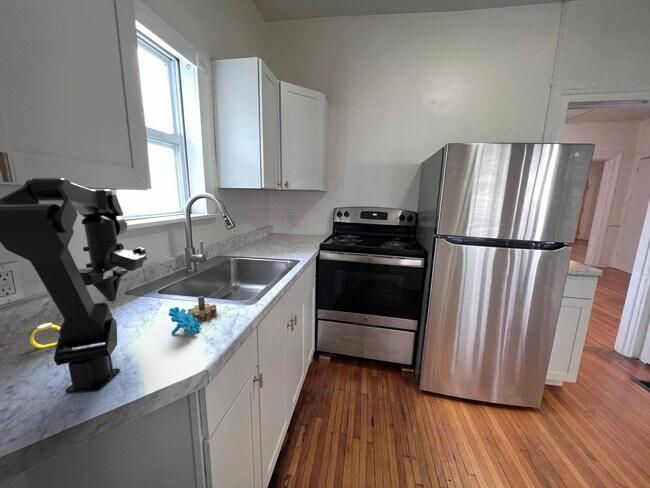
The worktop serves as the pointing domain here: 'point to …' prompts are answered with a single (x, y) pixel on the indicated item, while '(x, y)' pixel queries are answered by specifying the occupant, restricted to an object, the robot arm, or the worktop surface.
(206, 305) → the gear
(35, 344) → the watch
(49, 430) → the worktop surface
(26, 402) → the worktop surface
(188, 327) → the gear
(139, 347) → the worktop surface
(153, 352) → the worktop surface
